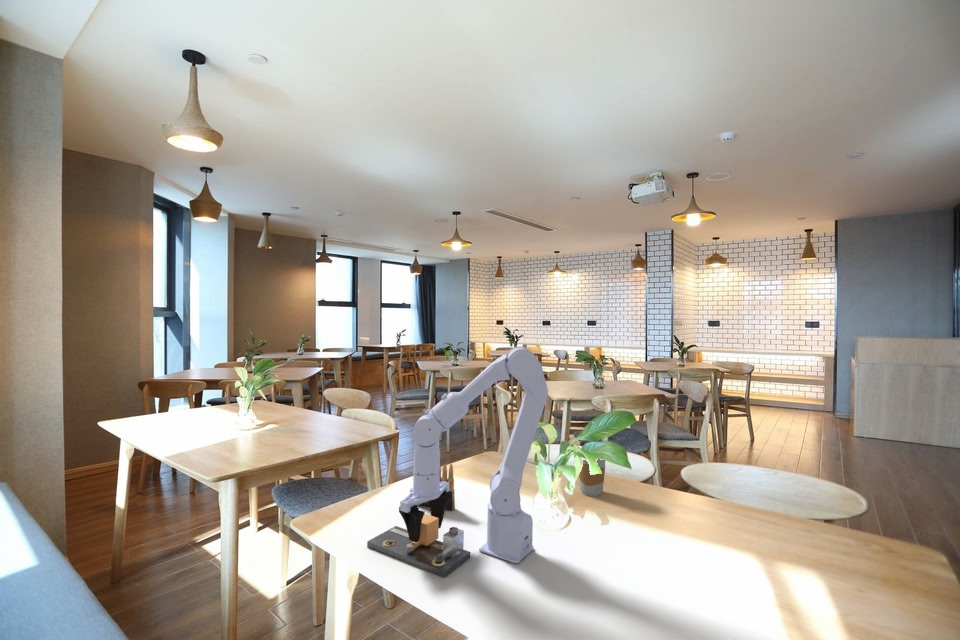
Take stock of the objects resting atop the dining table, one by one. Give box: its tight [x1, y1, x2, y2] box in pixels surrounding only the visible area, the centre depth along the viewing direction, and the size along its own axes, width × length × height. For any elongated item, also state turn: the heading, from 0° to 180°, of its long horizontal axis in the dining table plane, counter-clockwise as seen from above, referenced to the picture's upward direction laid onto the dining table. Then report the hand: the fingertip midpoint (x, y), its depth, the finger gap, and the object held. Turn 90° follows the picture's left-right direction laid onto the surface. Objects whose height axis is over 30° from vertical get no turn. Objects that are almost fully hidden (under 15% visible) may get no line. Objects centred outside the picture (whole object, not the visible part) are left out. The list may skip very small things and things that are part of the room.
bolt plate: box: [366, 525, 471, 579], centre depth 98 cm, size 21×9×6 cm, turn 58°
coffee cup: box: [578, 441, 606, 497], centre depth 133 cm, size 8×8×15 cm
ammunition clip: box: [417, 462, 456, 512], centre depth 121 cm, size 11×2×12 cm, turn 73°
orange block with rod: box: [407, 513, 440, 551], centre depth 98 cm, size 4×8×4 cm, turn 147°
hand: (425, 533), depth 100 cm, fingers open, 7 cm apart
